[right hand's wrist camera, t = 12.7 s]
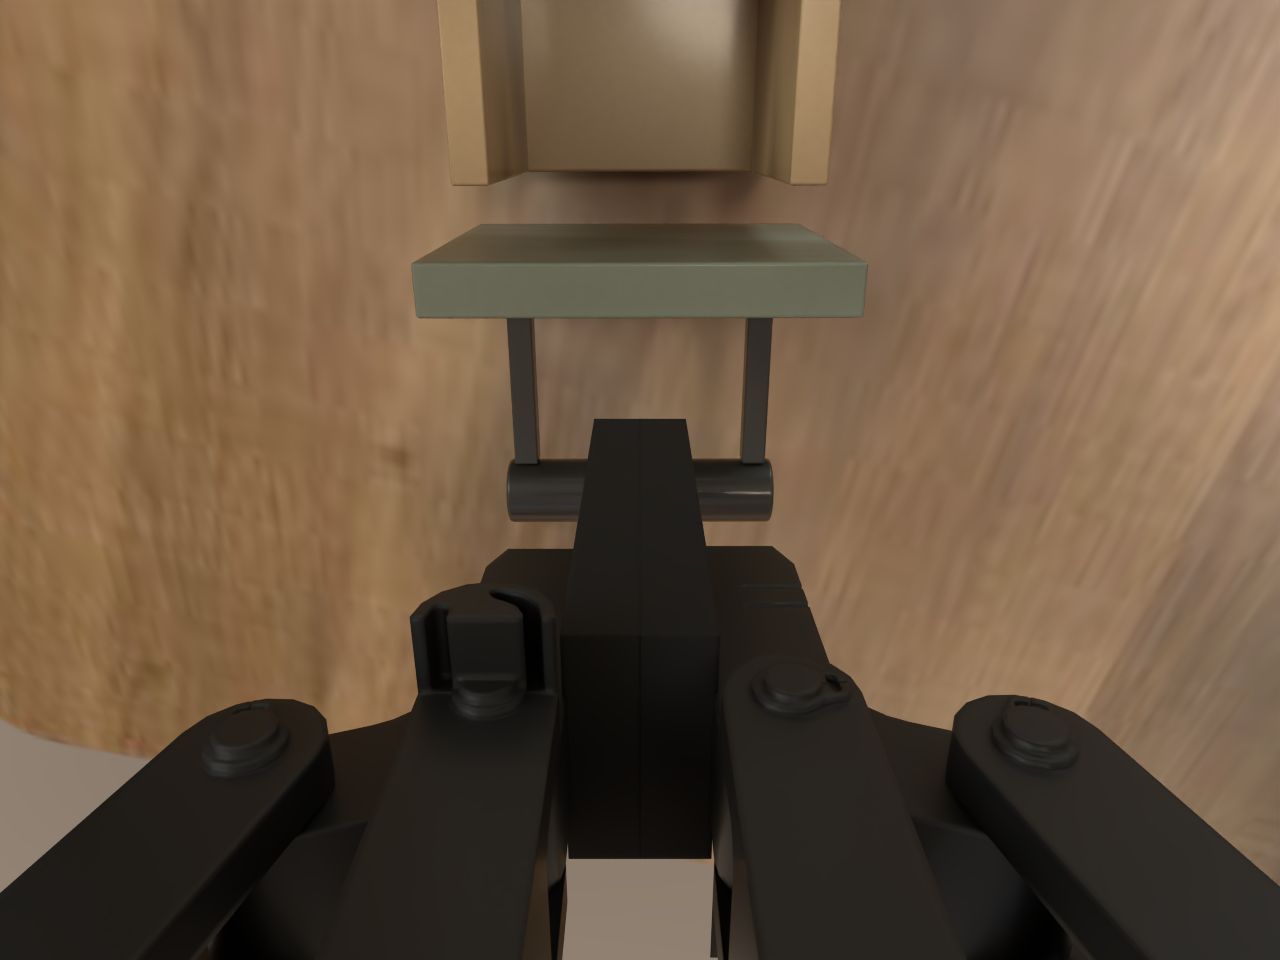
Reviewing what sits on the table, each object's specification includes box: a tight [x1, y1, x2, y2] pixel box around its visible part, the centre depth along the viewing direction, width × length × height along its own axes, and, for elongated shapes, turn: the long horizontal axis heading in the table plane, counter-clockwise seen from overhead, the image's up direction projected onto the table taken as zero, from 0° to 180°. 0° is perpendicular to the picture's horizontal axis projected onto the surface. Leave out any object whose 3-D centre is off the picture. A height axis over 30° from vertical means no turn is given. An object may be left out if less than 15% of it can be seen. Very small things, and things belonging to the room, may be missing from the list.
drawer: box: [411, 0, 868, 522], centre depth 21 cm, size 23×10×8 cm, turn 0°
